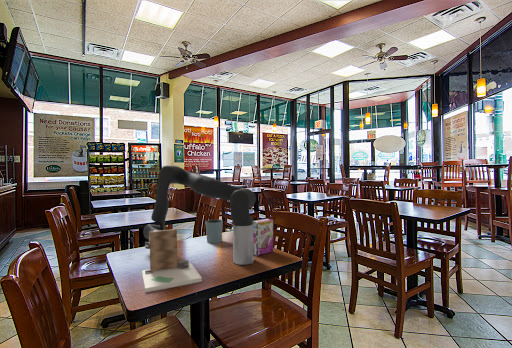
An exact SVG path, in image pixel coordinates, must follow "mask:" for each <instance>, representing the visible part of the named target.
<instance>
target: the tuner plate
mask: <svg viewBox="0 0 512 348" xmlns="http://www.w3.org/2000/svg"><path fill="white" fill-rule="evenodd" d="M177 266H178V264H177ZM148 270H150V268H149V269H144V270H141V276H142V281H143V287H144V292H145V294H146V293H150V292H155V291H161V290H166V289H171V288H175V287H176V288H177V287H182V286H188V285H192V284H196V283H201V282H202V280H203V279H202V276H201V275H200V274H199V271H197V269H196V268H195V267H194V265H193V264H192V262H189V266H188V267H187V268H178V267H177V268H171V269H165V270H159V271H153V272H147V273H145V271H148Z"/></svg>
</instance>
